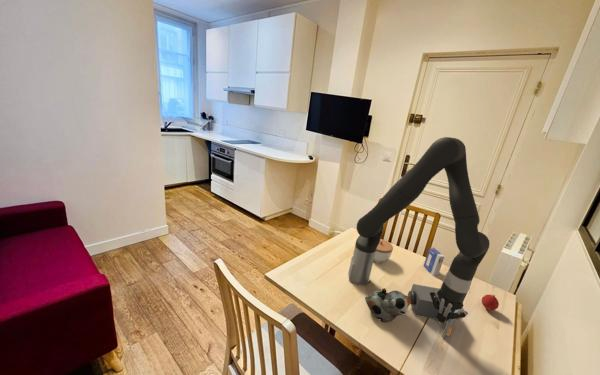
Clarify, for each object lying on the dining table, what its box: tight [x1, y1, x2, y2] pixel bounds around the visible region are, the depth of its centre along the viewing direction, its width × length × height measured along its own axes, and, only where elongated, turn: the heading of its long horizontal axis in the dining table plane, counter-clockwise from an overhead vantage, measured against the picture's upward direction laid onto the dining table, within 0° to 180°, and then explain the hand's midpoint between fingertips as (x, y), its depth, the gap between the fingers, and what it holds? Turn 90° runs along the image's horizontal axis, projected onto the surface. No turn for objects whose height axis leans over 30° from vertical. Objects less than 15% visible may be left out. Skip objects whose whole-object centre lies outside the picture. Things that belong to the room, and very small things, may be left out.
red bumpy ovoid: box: [481, 294, 500, 311], centre depth 106 cm, size 6×6×8 cm
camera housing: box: [407, 283, 455, 322], centre depth 102 cm, size 16×9×9 cm, turn 83°
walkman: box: [423, 247, 445, 277], centre depth 127 cm, size 8×3×12 cm, turn 11°
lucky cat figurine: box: [364, 288, 412, 324], centre depth 97 cm, size 15×12×14 cm
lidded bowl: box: [373, 238, 394, 264], centre depth 133 cm, size 13×13×11 cm
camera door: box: [441, 309, 459, 339], centre depth 93 cm, size 12×2×7 cm, turn 132°
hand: (440, 321), depth 92 cm, fingers closed
